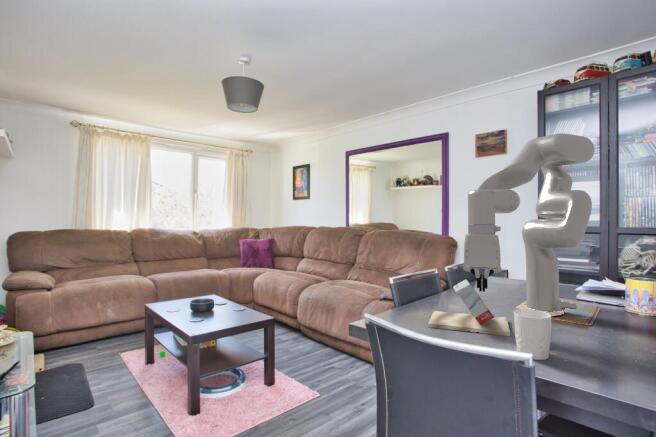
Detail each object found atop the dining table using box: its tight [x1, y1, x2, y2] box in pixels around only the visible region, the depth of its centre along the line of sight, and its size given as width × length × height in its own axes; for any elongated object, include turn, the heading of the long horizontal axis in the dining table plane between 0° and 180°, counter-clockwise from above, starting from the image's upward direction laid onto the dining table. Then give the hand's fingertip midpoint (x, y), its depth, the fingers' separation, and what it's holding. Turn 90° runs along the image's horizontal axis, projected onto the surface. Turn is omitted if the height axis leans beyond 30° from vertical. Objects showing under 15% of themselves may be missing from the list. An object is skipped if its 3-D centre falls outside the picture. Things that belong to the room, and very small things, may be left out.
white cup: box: [513, 308, 553, 361], centre depth 83 cm, size 8×8×10 cm
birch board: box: [428, 310, 511, 337], centre depth 106 cm, size 22×14×1 cm, turn 66°
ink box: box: [452, 279, 494, 325], centre depth 105 cm, size 9×5×12 cm
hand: (482, 290), depth 104 cm, fingers closed
